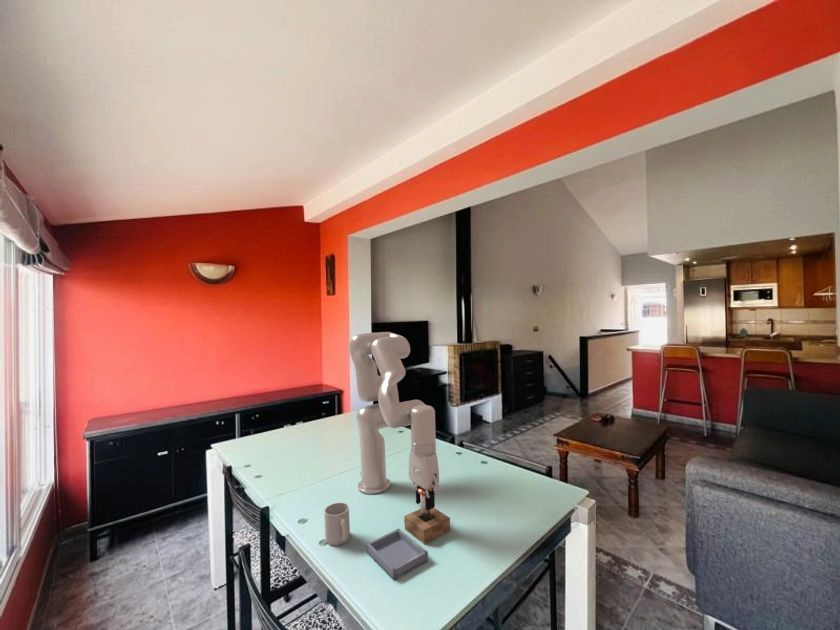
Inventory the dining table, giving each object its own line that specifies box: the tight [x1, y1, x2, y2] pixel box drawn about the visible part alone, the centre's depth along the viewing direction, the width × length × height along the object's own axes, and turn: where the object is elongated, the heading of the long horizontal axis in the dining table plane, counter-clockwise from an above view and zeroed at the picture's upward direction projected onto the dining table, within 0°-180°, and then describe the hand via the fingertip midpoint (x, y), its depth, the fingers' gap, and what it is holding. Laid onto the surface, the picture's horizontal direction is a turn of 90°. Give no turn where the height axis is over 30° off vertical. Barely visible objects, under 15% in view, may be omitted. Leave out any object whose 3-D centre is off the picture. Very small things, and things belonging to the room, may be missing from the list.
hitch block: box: [403, 507, 451, 545], centre depth 110 cm, size 10×10×4 cm
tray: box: [365, 528, 429, 581], centre depth 98 cm, size 14×11×2 cm
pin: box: [418, 486, 432, 522], centre depth 110 cm, size 4×4×10 cm
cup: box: [323, 502, 351, 547], centre depth 106 cm, size 7×10×9 cm
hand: (425, 504), depth 110 cm, fingers closed on pin, 4 cm apart
